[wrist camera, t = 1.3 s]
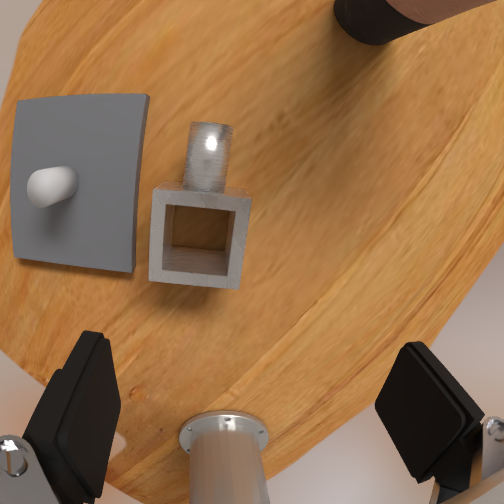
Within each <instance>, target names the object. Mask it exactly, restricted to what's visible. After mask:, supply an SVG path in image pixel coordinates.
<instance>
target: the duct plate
mask: <svg viewBox="0 0 504 504" xmlns="http://www.w3.org/2000/svg"><path fill="white" fill-rule="evenodd" d="M149 100H150V96H148V95H147V94H84V95H68V96H55V97H45V98H36V99H28V100H20V101H18V102H17V108H16V115H15V123H14V132H13V142H12V156H11V181H10V201H11V226H12V240H13V251H14V257H17V258H23V259H30V260H37V261H44V262H51V263H58V264H65V265H73V266H80V267H88V268H96V269H104V270H112V271H121V272H129V273H132V272H133V270H134V268H135V261H136V226H137V207H138V192H139V180H140V169H141V159H142V150H143V141H144V133H145V126H146V119H147V112H148V106H149Z"/></svg>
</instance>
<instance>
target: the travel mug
mask: <svg viewBox="0 0 504 504" xmlns="http://www.w3.org/2000/svg"><path fill="white" fill-rule="evenodd" d="M493 1H496V0H336V1H335V5H334V11H335V15H336V18H337V20H338V22H339V24H340V25H341V26H342V28H343V29H344V30H345V31H346V32H347V33H348V34H349V35H351V36H352V37H353V38H355V39H356V40H358V41H360V42H363V43H366V44H370V45H381V44H385V43H387V42H390V41H392V40H395V39H397V38H399V37H402V36H404V35H407V34H409V33H412V32H414V31H417V30H419V29H422V28H424V27H427V26H430V25H432V24H435V23H438V22H440V21H443V20H445V19H447V18H450V17H452V16H455V15H457V14H460V13H462V12H465V11H468V10H470V9H473V8H476V7H479V6H481V5H484V4H487V3H490V2H493Z"/></svg>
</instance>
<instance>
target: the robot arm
mask: <svg viewBox="0 0 504 504" xmlns="http://www.w3.org/2000/svg"><path fill="white" fill-rule="evenodd" d="M120 409H121V400H120V396H119V391H118V386H117V381H116V375H115V370H114V364H113V358H112V352H111V346H110V341H109V339H106V338H104V335H103V333H99V332H92V331H86V330H85V331H83V333H82V334H81V336H80V338H79V339H78V341H77V343H76V345H75V346H74V348H73V350H72V352H71V354H70V355H69V357H68V359H67V361H66V363H65V365H64V366H63V368H62V369H57V370H56V371H55V372H54V374H53V376H52V377H51V379H50V381H49V383H48V385H47V387H46V389H45V391H44V393H43V395H42V397H41V399H40V401H39V403H38V405H37V407H36V409H35V411H34V413H33V415H32V417H31V419H30V421H29V423H28V426H27V428H26V430H25V432H24V434H23V436H22V438H20V437H18V436H14V435H3V436H1V437H0V504H83V503H88V504H94V502H95V498H100V497H101V495H102V490H103V485H104V480H105V475H106V470H107V465H108V460H109V456H110V451H111V446H112V442H113V438H114V434H115V430H116V426H117V422H118V418H119V414H120ZM375 409H376V412H377V413H378V415H379V417H380V419H381V421H382V422H383V424H384V426H385V428H386V430H387V431H388V433H389V435H390V437H391V439H392V441H393V443H394V444H395V446H396V448H397V450H398V452H399V454H400V456H401V457H402V459H403V461H404V463H405V465H406V467H407V469H408V471H409V472H410V474H411V476H412V477H413V478H416V480H417V482H418V484H419V483H422V482H424V481H427V480H429V479H430V478H431V477H432V476H434V477H435V482H434V487H433V490H432V494H431V499H430V502H429V504H504V420H503V419H502V418H499V417H495V416H492V417H488V418H487V419H486V420H485V421H484V422H483V424H482V425H481V423H480V421H481V420H482V418H483V417H484V415H485V414H484V413H483V411H482V410H481V409H480V408H479V407H478V405H477V404H476V403H475V402H474V400H473V399H472V398H471V397H470V396H469V395H468V393H467V392H466V391H465V390H464V389H463V387H462V386H461V385H460V384H459V383H458V381H457V380H456V379H455V378H454V377H453V376H452V375H451V373H450V372H449V371H448V370H447V369H446V368H445V367H444V365H443V364H442V363H441V362H440V361H439V360H438V359H437V358H436V356H435V355H434V354H433V353H432V352H431V351H430V350H429V349H428V347H427V346H426V345H425V344H424V343H423V342H420V341H417V342H408V343H406V344H405V345H404V346H403V347H402V348H401V349H400V351H399V353H398V356H397V358H396V360H395V362H394V365H393V367H392V369H391V371H390V373H389V375H388V377H387V379H386V381H385V383H384V385H383V387H382V389H381V391H380V393H379V395H378V397H377V399H376V401H375ZM268 440H269V435H268V430H267V428H266V426H265V424H264V423H263V422H262V421H261V420H259V419H258V418H256V417H254V416H252V415H249V414H246V413H242V412H237V411H226V410H225V411H212V412H207V413H203V414H200V415H197V416H195V417H193V418H191V419H189V420H188V421H186V422H185V423H184V424H183V425H182V427H181V429H180V432H179V442H180V445H181V447H182V448H183V449H184V451H186V452H187V453H188V454H189V455H190V463H189V504H270V501H269V495H268V491H267V485H266V480H265V474H264V469H263V464H262V458H261V453H260V452H261V451H262V450H263V449H264V448H265V447H266V445H267V443H268Z"/></svg>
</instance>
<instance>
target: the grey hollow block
mask: <svg viewBox="0 0 504 504" xmlns="http://www.w3.org/2000/svg"><path fill="white" fill-rule="evenodd" d="M232 134H233V127H232V126H229V125H224V124H217V123H209V122H191V123H190V130H189V137H188V144H187V152H186V160H185V168H184V177H183V182H177V181H165V182H163V183H162V184H160V185H158V186H157V187H155V188H154V189H153V198H152V211H151V227H150V248H149V281H156V282H165V283H174V284H184V285H194V286H205V287H215V288H227V289H238V290H239V286H240V279H241V271H242V264H243V257H244V250H245V244H246V237H247V230H248V223H249V216H250V209H251V202H252V199H251V197H250V196H249V195H248V193H247V192H246V191H245V189H242V188H234V187H225V184H226V176H227V169H228V162H229V155H230V148H231V141H232ZM175 205H181V206H192V207H201V208H211V209H220V210H229V211H230V214H229V221H228V229H227V237H226V245H225V251H219V250H209V249H199V248H189V247H179V246H172V235H173V222H174V210H175Z"/></svg>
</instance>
